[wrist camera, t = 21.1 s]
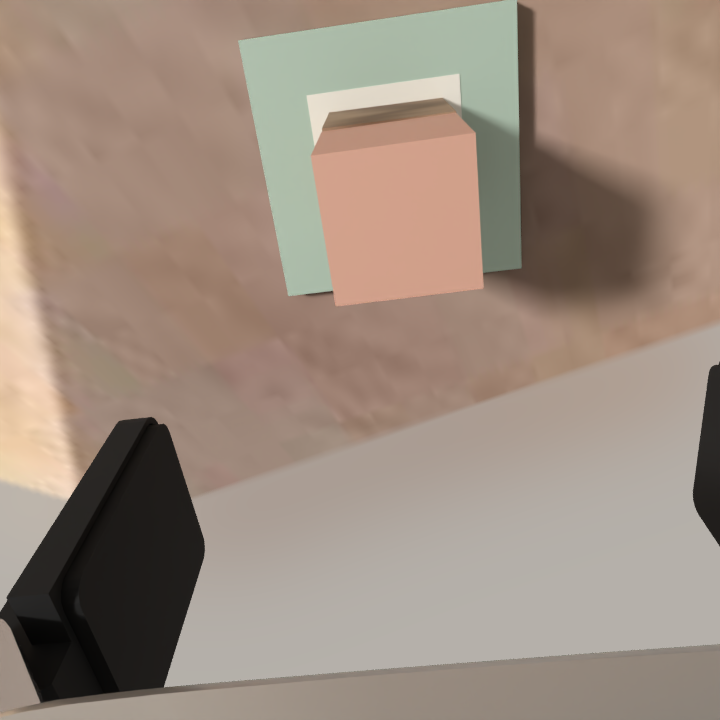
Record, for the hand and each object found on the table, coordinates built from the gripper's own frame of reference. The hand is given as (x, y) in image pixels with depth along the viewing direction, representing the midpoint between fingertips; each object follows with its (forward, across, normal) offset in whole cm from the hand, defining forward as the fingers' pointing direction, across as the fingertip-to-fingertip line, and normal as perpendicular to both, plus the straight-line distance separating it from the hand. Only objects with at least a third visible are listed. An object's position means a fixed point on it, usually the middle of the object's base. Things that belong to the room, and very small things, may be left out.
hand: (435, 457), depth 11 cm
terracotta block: (+21, 0, 0) cm, 21 cm away
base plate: (+28, 0, 0) cm, 28 cm away
